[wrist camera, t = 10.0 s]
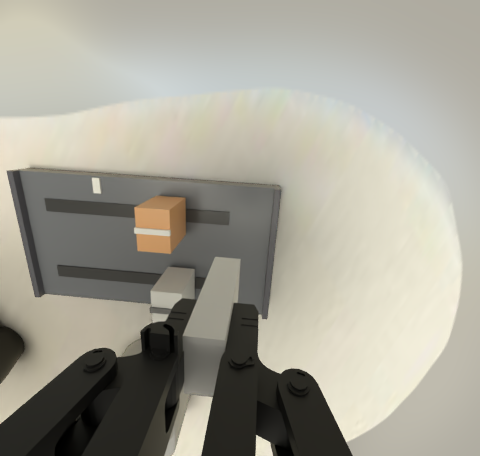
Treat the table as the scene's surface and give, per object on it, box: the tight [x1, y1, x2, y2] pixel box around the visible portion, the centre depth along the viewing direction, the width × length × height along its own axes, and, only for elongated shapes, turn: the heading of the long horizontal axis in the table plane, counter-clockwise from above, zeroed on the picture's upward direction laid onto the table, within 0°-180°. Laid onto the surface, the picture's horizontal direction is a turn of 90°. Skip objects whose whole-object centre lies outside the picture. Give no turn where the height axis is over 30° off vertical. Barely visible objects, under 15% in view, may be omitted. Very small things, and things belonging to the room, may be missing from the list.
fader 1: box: [134, 196, 186, 254], centre depth 25 cm, size 3×4×5 cm
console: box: [7, 168, 281, 319], centre depth 30 cm, size 28×15×3 cm, turn 87°
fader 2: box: [150, 267, 195, 323], centre depth 27 cm, size 3×4×5 cm
